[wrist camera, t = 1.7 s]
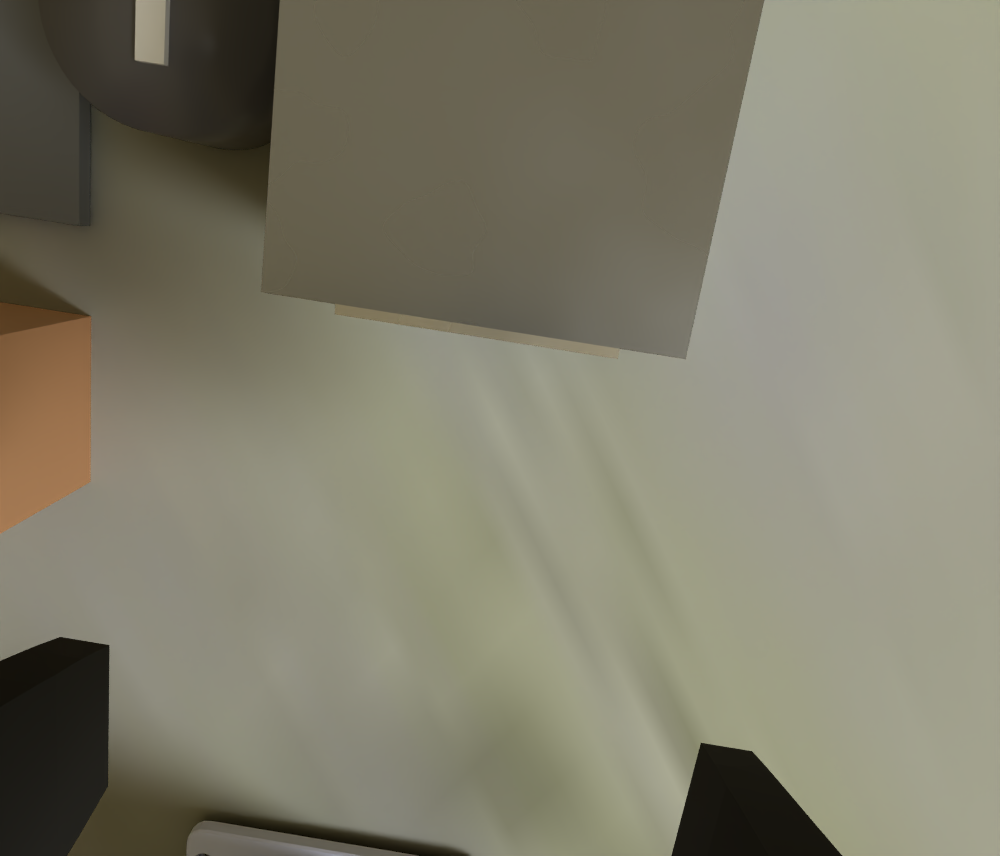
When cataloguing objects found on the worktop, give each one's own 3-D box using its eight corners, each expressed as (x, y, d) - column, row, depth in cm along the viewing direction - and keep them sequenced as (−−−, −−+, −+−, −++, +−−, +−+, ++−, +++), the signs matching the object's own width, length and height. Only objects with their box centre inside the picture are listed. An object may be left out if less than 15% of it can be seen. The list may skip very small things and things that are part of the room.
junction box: (649, 332, 16) (717, 400, 10) (341, 283, 16) (214, 321, 10) (744, -135, 14) (911, -433, 8) (384, -188, 14) (253, -527, 8)
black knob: (316, 163, 16) (262, 149, 13) (130, 134, 16) (33, 113, 13) (332, -49, 15) (278, -119, 12) (133, -79, 15) (29, -157, 12)
